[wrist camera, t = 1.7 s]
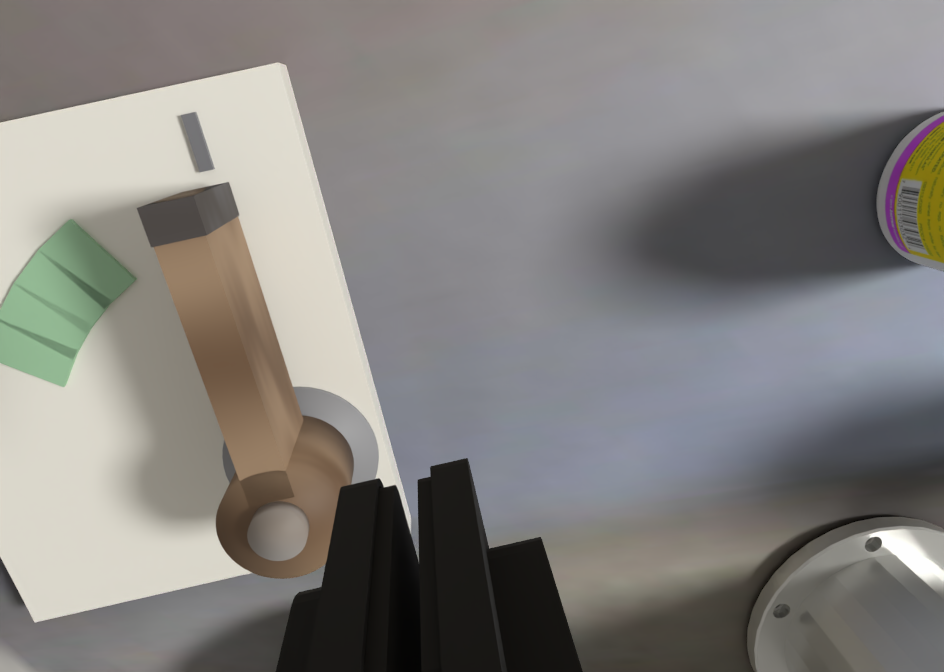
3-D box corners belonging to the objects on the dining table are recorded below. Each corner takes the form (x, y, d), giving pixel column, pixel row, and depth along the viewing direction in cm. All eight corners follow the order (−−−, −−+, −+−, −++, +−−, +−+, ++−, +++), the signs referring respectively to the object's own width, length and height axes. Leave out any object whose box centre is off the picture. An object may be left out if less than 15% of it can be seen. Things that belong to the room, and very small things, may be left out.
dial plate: (410, 517, 31) (411, 539, 30) (51, 599, 31) (32, 625, 30) (285, 65, 25) (277, 62, 23) (-170, 163, 25) (-211, 167, 23)
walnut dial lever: (365, 497, 28) (356, 573, 24) (263, 520, 28) (234, 601, 24) (268, 172, 24) (233, 187, 19) (147, 199, 24) (82, 220, 19)
